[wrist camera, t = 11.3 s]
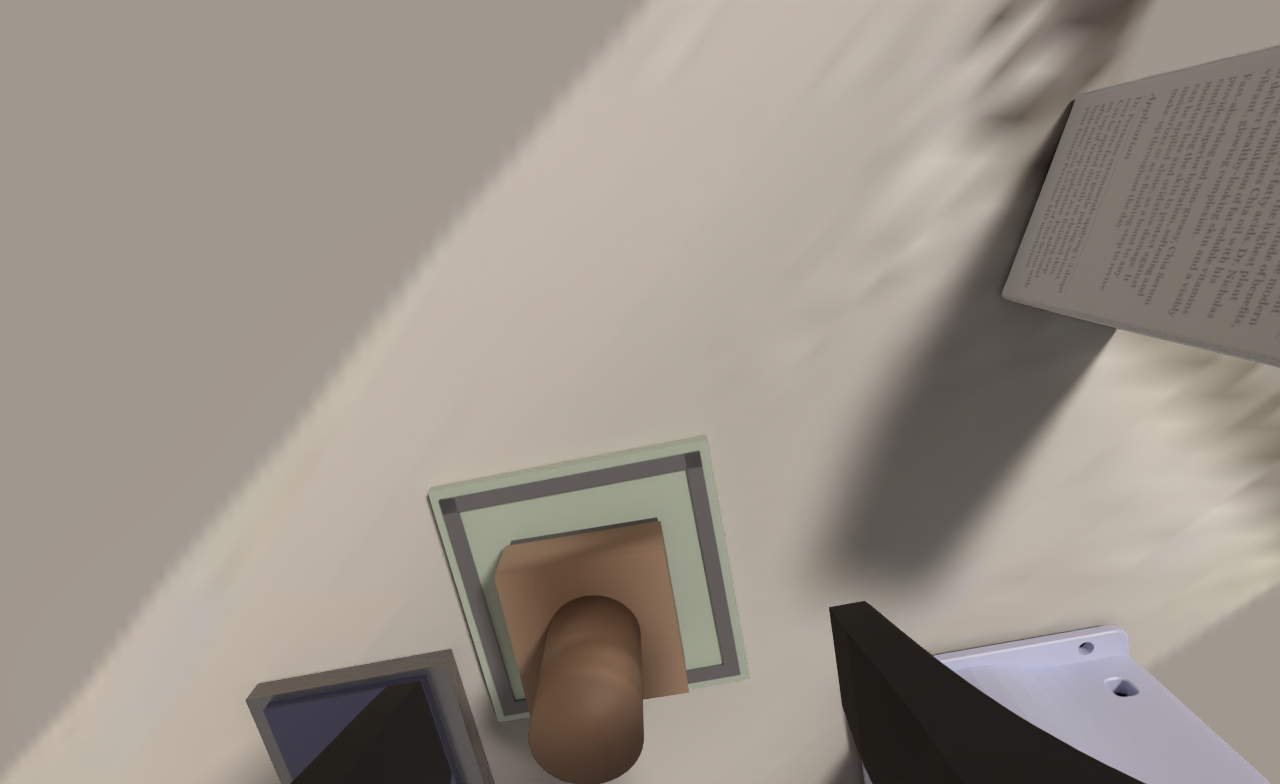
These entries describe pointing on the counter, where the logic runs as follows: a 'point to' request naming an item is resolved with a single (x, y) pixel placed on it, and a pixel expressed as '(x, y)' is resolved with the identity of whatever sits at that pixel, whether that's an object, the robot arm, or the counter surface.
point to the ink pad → (328, 701)
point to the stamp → (591, 642)
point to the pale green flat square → (587, 498)
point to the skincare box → (1166, 210)
